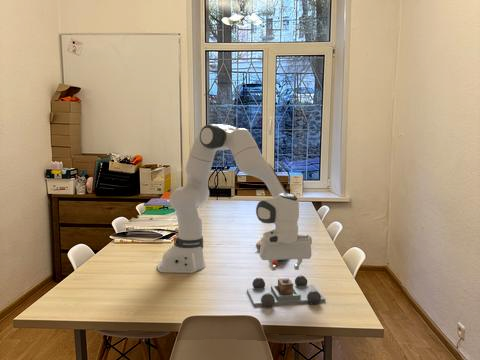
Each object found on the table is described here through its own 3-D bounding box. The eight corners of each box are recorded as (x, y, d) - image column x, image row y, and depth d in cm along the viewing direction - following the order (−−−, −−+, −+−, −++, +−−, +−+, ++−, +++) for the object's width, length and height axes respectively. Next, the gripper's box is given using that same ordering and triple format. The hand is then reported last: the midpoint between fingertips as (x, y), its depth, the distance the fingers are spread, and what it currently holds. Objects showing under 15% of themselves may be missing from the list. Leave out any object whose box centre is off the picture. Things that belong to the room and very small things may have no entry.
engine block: (281, 296, 163) (282, 282, 163) (277, 290, 169) (278, 276, 169) (292, 296, 164) (293, 282, 163) (288, 290, 170) (288, 276, 169)
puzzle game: (256, 243, 224) (264, 233, 243) (255, 251, 224) (264, 241, 243) (277, 245, 221) (284, 235, 240) (277, 253, 221) (284, 243, 240)
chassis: (254, 308, 156) (255, 295, 155) (246, 289, 173) (246, 278, 172) (327, 303, 161) (327, 291, 160) (311, 286, 178) (312, 274, 177)
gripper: (309, 232, 168) (307, 266, 170) (259, 233, 165) (258, 267, 167) (314, 237, 162) (313, 271, 164) (262, 238, 159) (261, 273, 161)
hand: (284, 269), depth 165 cm, fingers open, 8 cm apart
